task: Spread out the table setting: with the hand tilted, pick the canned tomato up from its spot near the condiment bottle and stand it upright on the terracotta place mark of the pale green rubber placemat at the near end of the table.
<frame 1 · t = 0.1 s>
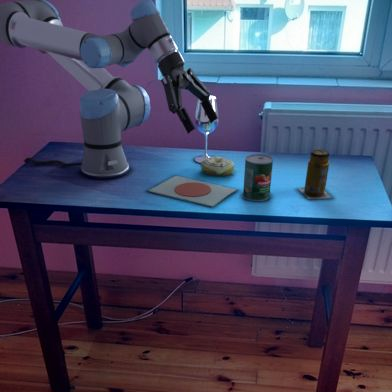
hand: (203, 125, 161), 15 cm above the table, tool tilted 35°, fingers open, 13 cm apart
placemat: (192, 191, 160), on the table
wineglass: (205, 160, 183), on the table
decorated donut: (217, 172, 173), on the table
canned tomato: (256, 196, 157), on the table
condiment: (314, 194, 159), on the table
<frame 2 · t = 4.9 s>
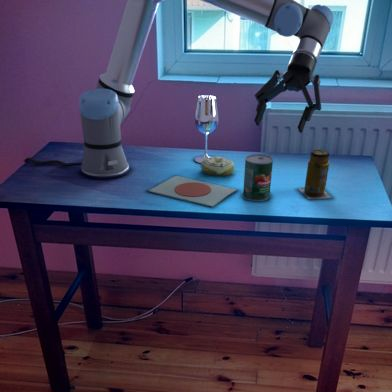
hand: (277, 126, 154), 17 cm above the table, tool tilted 45°, fingers open, 13 cm apart
nothing on the table moved.
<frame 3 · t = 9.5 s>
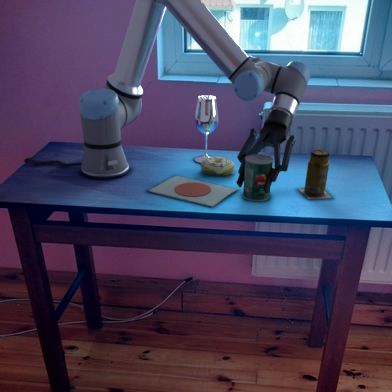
hand: (251, 187, 153), 4 cm above the table, tool tilted 45°, fingers closed on canned tomato, 8 cm apart
canned tomato: (256, 196, 157), on the table, touching gripper
everything else where it was.
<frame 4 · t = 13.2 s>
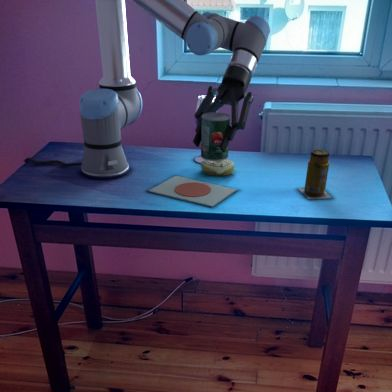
hand: (208, 146, 148), 14 cm above the table, tool tilted 45°, fingers closed on canned tomato, 8 cm apart
canned tomato: (214, 157, 153), point 10 cm above the table, touching gripper
everything else where it was.
when the fingers open (4 cm above the table, at t = 17.3 s): canned tomato stays where it is, resting on placemat.
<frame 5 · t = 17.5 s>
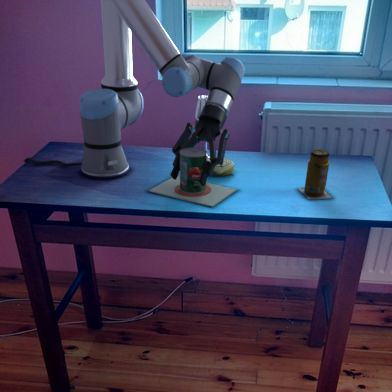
hand: (187, 180, 155), 4 cm above the table, tool tilted 45°, fingers open, 9 cm apart
canned tomato: (193, 189, 160), resting on placemat
everything else where it was.
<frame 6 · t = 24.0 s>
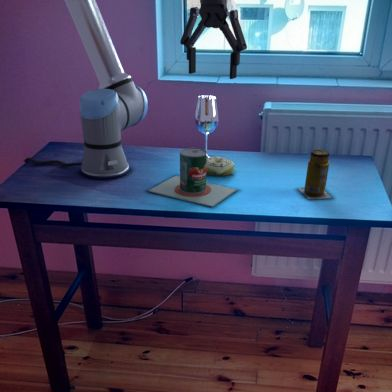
hand: (212, 75, 154), 29 cm above the table, tool pointing down, fingers open, 13 cm apart
nothing on the table moved.
at the end: canned tomato inside the target area on the placemat (0.1 cm from its centre), point 0.4 cm above the placemat's base; canned tomato tilted 0°; condiment moved 0.2 cm from its start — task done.
